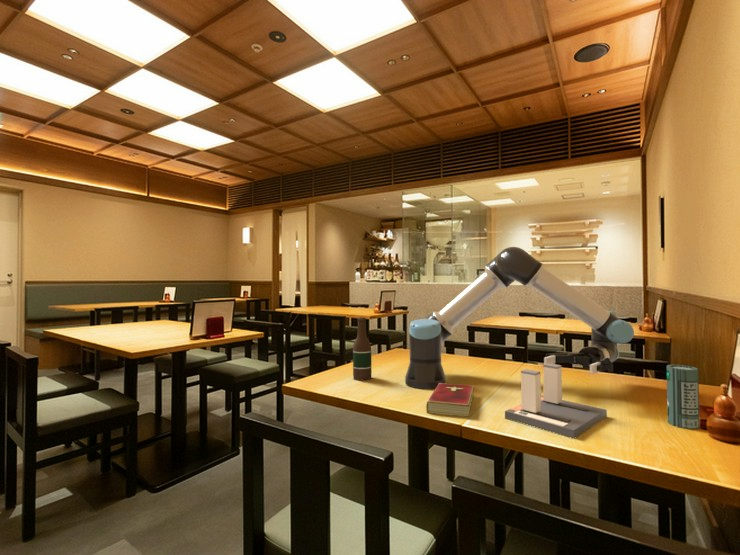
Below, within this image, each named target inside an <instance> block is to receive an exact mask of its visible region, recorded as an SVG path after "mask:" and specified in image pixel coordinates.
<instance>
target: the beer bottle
mask: <svg viewBox="0 0 740 555" xmlns="http://www.w3.org/2000/svg"><path fill="white" fill-rule="evenodd" d="M356 321H357V334H356V338H355V340H354V342H353V345H352V346H353V347H352V375H353V377H352V378H353V380H355V379H356V380H355V381H368V380H371V379H372V347H371V346H372V345H371V342H370V340H369V338H368V337H367V335H368V334H367V323H366V321H367V318H366V317H363V316H362V317H361V316H359V317H357V320H356Z"/></svg>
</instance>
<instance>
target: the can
mask: <svg viewBox="0 0 740 555" xmlns="http://www.w3.org/2000/svg"><path fill="white" fill-rule="evenodd" d="M699 382H700V381H699V368H697V367H694V366H689V365H683V364H667V365H666V402H667V403H666V404H667V412H666V414H667V424H669V425H671V426H673V427H677V428H680V429H685V430H699V429H700V428H701V427H700V388H699V384H700V383H699Z"/></svg>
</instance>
